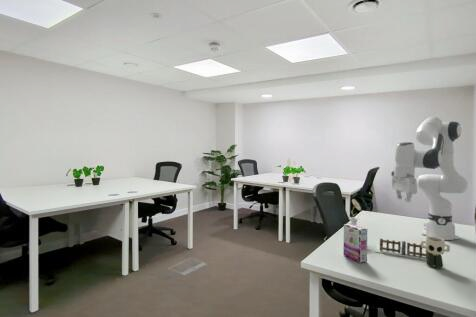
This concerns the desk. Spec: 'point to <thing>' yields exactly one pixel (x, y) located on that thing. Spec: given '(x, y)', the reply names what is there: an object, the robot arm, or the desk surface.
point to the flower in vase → (358, 207)
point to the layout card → (400, 251)
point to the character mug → (435, 251)
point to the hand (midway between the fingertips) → (403, 200)
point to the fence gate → (388, 245)
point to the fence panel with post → (413, 249)
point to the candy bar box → (355, 243)
